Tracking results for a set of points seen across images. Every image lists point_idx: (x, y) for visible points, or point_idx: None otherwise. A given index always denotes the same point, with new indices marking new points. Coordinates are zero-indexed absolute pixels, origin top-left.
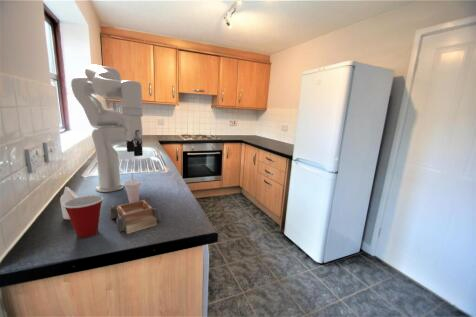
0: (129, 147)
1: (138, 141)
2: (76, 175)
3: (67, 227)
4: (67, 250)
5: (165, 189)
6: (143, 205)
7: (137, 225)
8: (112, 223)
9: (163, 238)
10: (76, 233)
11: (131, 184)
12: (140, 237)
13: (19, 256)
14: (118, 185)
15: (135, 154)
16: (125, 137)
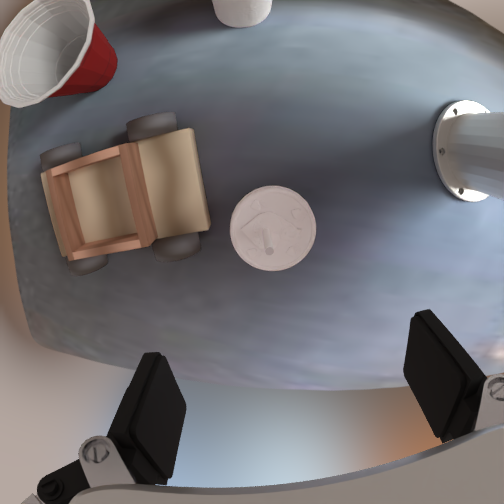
0: (430, 362)
1: (42, 495)
2: None
3: (159, 10)
4: None
5: (352, 335)
6: (134, 236)
7: (48, 201)
8: (121, 126)
9: (20, 250)
10: (80, 46)
11: (244, 221)
12: (31, 202)
13: None
14: (458, 178)
15: (143, 370)
16: (416, 492)
